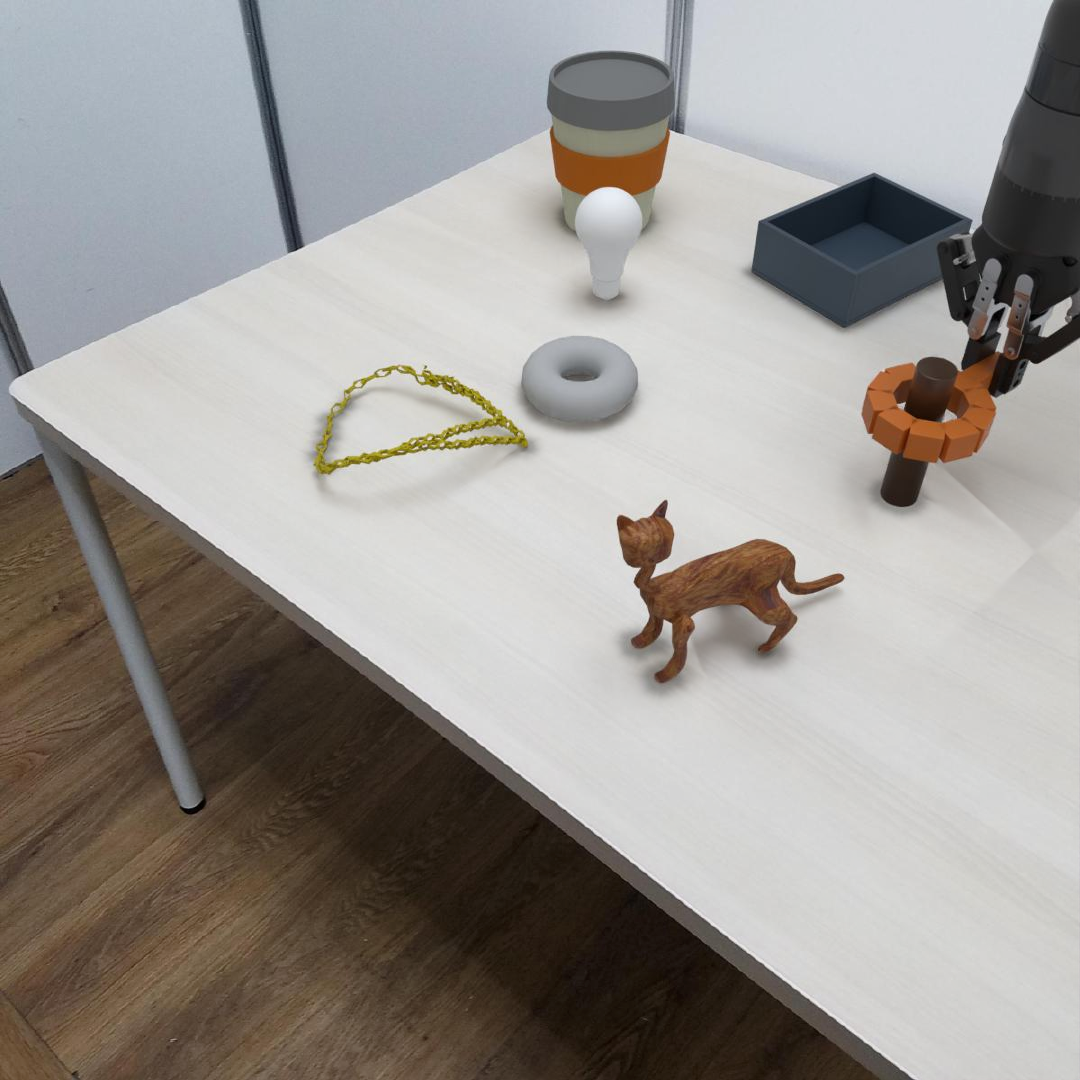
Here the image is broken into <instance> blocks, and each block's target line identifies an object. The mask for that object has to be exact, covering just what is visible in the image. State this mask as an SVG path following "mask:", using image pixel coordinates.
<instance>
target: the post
mask: <svg viewBox="0 0 1080 1080" xmlns="http://www.w3.org/2000/svg"><path fill="white" fill-rule="evenodd" d="M915 366H916V368H915V372H914V375H913V379H912V382H911V386H910V389H909V393H908V396H907V399H906V402H905V403H904V407H903V410H904V411H905V412H907V413H908V414H910V415H911V416H913V417H915V418H916V419H922V420H927V421H933V422H939V423H943V422H944V419H945V415H946V413H947V406H948V403H949V400H950V397H951V394H952V391H953V387H954V384H955V381H956V378H957V375H958V370H959V369H958V367H957V365H956V364H955V363H954V362H952V361H951V360H949V359H947V358H944V357H940V356H927V357H923V358H921V359H920V360H918V362H917V363H916V364H915ZM903 452H904V450H903V451H902V452H900V453H898V454H895V453H893V452H892V451H890V455H889V460H888V462H887V465H886V468H885V473H884V476H883V479H882V483H881V486H880V490H879V494H880V497H881V499H882V500H883V501H884V502H885V503H886V504H889V505H891V506H893V507H897V508H908V507H911V506H913V505H914V504H915V503H916V502H917V501H918V498H919V495H920V493H921V492H920V491H921V489H922V485H923V483H924V480H925V477H926V473H927V471H928V469H929V464H930V462H926V461H920V460H915V459H909V458H904V457H903Z"/></svg>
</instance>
